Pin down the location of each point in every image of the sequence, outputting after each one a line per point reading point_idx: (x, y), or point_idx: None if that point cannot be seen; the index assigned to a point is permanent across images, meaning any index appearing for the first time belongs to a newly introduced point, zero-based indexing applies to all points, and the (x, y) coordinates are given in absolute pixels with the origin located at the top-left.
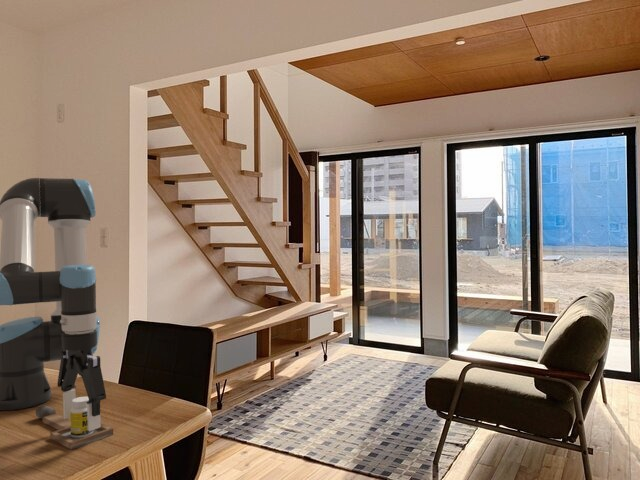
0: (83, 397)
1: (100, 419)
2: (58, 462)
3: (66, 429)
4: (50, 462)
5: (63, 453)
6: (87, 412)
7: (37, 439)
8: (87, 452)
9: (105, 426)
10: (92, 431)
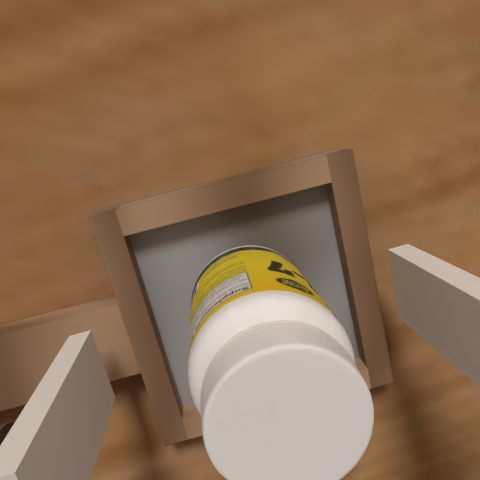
0: (246, 401)
1: (437, 258)
2: (467, 427)
3: (165, 369)
4: (442, 451)
5: (392, 399)
6: (473, 378)
7: (135, 472)
8: None
9: (283, 178)
10: (278, 252)
